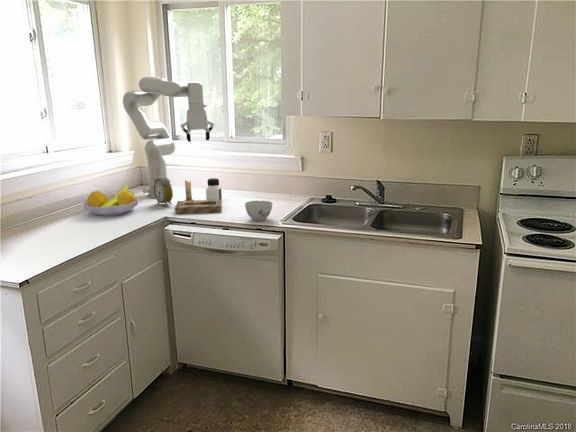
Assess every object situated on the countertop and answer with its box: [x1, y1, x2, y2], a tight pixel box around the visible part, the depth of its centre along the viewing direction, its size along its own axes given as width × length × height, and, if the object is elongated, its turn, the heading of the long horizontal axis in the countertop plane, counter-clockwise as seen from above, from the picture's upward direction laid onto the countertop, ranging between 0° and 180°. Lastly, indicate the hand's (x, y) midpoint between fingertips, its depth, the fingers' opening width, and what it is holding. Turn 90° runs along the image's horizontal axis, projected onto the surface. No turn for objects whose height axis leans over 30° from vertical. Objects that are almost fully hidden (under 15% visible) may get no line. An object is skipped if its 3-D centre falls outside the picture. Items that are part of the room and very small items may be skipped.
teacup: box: [244, 200, 273, 222], centre depth 221 cm, size 15×12×8 cm
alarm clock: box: [154, 176, 174, 208], centre depth 248 cm, size 12×7×15 cm, turn 41°
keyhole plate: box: [174, 199, 222, 215], centre depth 239 cm, size 22×14×3 cm, turn 97°
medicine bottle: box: [205, 177, 223, 201], centre depth 257 cm, size 7×7×12 cm
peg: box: [183, 179, 195, 201], centre depth 252 cm, size 5×5×12 cm
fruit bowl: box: [81, 183, 139, 217], centre depth 236 cm, size 28×27×11 cm
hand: (198, 140), depth 247 cm, fingers open, 9 cm apart
